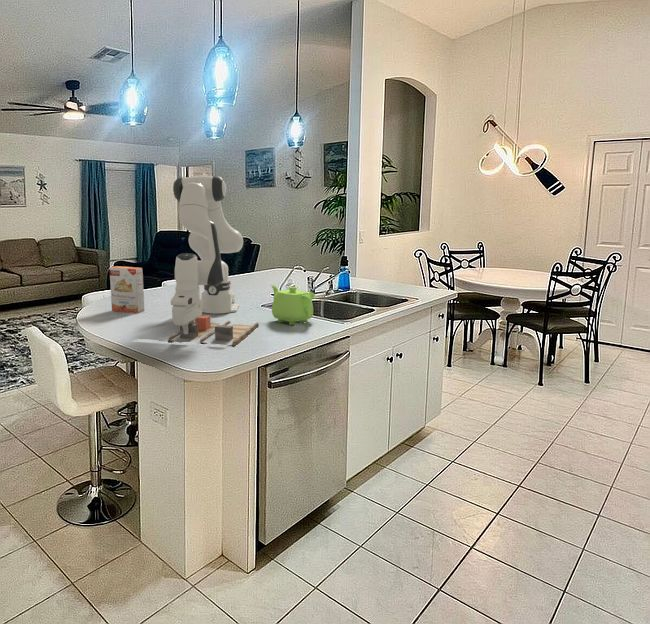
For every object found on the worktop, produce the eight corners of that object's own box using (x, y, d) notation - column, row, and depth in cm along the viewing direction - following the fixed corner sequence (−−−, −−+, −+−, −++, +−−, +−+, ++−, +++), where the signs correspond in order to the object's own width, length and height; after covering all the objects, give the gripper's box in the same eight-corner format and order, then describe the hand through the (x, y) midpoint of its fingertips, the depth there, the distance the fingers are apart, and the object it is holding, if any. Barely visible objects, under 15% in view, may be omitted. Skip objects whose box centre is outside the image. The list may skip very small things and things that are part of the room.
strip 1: (202, 325, 234) (201, 311, 232) (220, 326, 232) (219, 312, 231) (177, 340, 208) (176, 324, 207) (197, 341, 207) (196, 326, 206)
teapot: (330, 321, 247) (331, 286, 244) (297, 328, 232) (297, 292, 228) (291, 312, 264) (292, 280, 260) (257, 319, 248) (257, 284, 245)
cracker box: (111, 311, 257) (108, 267, 253) (118, 308, 263) (116, 265, 258) (137, 313, 254) (135, 268, 249) (144, 310, 259) (142, 267, 255)
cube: (198, 326, 226) (198, 314, 225) (210, 327, 225) (210, 315, 224) (194, 329, 221) (193, 317, 220) (206, 330, 220) (205, 318, 219)
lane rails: (200, 323, 237) (200, 319, 236) (258, 327, 233) (258, 322, 233) (168, 342, 206) (168, 337, 205) (235, 347, 202) (235, 341, 202)
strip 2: (233, 327, 231) (233, 312, 230) (252, 328, 230) (251, 313, 229) (212, 342, 206) (211, 327, 205) (232, 344, 205) (232, 328, 204)
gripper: (190, 291, 217) (191, 325, 220) (168, 301, 197) (169, 338, 200) (205, 292, 216) (206, 326, 219) (185, 302, 196) (186, 339, 199)
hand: (188, 332), depth 209 cm, fingers closed on strip 1, 3 cm apart
